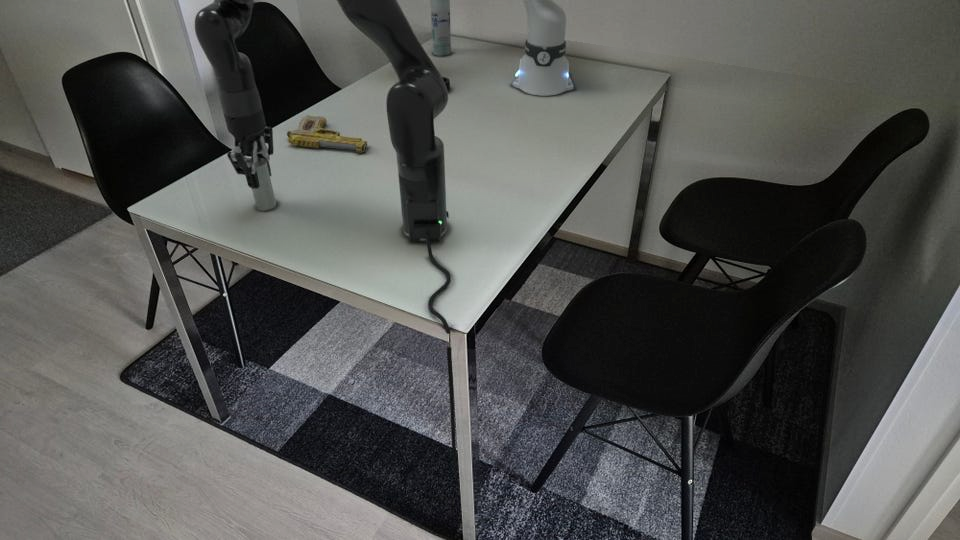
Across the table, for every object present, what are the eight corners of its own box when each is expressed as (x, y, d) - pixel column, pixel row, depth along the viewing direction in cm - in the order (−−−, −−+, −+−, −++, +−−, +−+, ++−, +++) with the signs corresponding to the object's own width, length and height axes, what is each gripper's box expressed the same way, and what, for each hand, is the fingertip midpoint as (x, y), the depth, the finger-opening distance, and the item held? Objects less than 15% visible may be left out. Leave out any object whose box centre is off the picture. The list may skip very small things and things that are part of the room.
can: (277, 200, 142) (267, 157, 135) (274, 210, 139) (264, 166, 132) (258, 201, 142) (247, 158, 135) (254, 211, 138) (243, 167, 132)
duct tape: (420, 91, 191) (419, 82, 189) (440, 81, 197) (440, 72, 196) (440, 97, 187) (439, 88, 186) (460, 87, 194) (460, 78, 192)
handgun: (382, 130, 171) (364, 155, 159) (304, 122, 174) (280, 145, 162) (382, 122, 169) (363, 146, 157) (303, 113, 172) (278, 136, 161)
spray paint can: (430, 51, 220) (427, -10, 208) (447, 48, 222) (445, -12, 209) (435, 57, 215) (433, -5, 203) (453, 54, 217) (452, -7, 205)
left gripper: (245, 92, 132) (262, 164, 143) (204, 120, 121) (226, 196, 132) (277, 95, 131) (292, 168, 141) (239, 124, 120) (258, 201, 130)
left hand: (260, 181), depth 136 cm, fingers closed on can, 4 cm apart
